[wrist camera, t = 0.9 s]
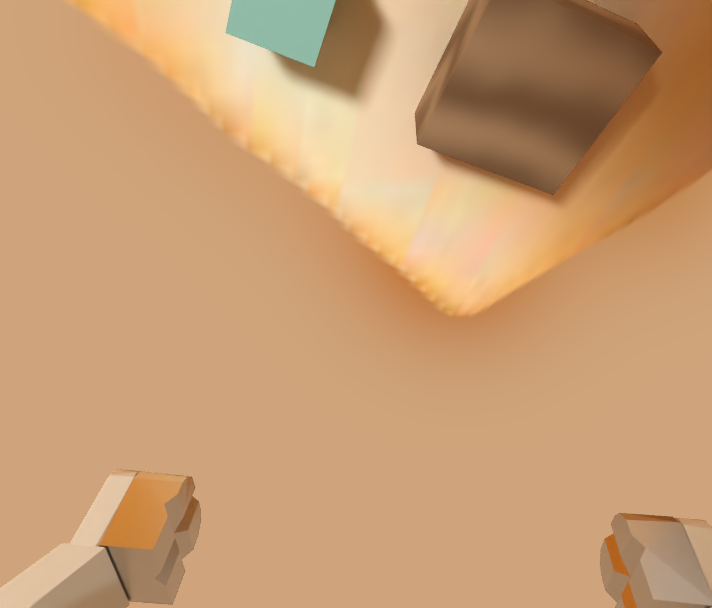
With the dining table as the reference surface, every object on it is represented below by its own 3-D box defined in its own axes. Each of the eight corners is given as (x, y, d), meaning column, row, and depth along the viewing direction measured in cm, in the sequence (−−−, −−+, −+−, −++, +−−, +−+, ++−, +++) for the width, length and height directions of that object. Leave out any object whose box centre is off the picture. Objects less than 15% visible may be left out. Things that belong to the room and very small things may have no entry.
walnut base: (491, -45, 37) (501, -23, 34) (638, 24, 40) (662, 52, 36) (414, 112, 45) (417, 144, 42) (541, 161, 48) (553, 195, 44)
